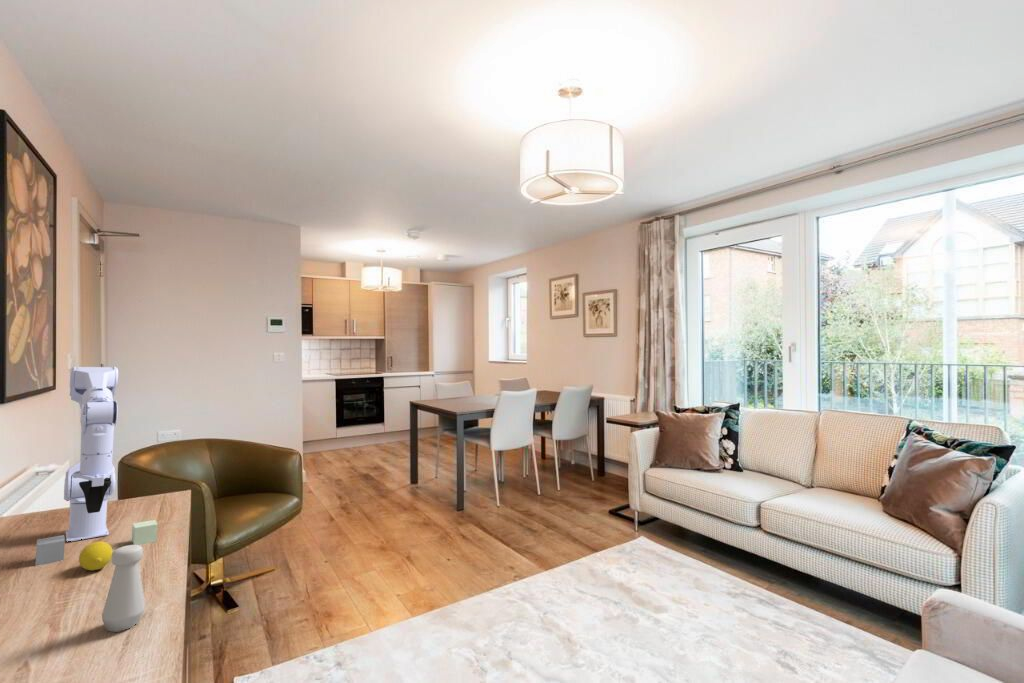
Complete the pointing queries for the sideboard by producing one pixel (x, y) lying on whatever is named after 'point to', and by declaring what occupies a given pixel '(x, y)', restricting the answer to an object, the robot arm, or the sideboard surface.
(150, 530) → the sage block
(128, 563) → the salt shaker
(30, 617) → the sideboard surface
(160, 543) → the sideboard surface
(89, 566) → the lemon
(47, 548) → the slate block
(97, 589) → the sideboard surface
